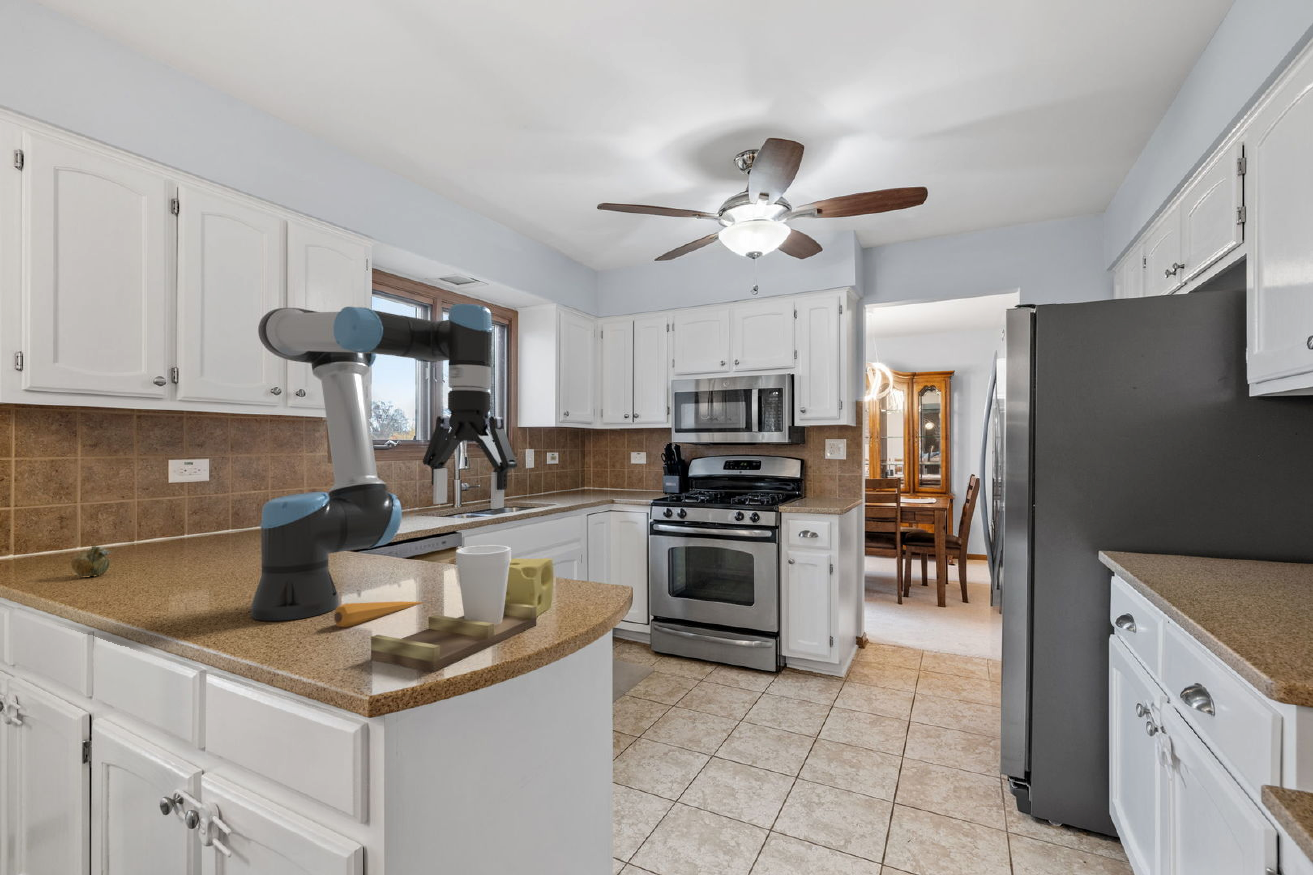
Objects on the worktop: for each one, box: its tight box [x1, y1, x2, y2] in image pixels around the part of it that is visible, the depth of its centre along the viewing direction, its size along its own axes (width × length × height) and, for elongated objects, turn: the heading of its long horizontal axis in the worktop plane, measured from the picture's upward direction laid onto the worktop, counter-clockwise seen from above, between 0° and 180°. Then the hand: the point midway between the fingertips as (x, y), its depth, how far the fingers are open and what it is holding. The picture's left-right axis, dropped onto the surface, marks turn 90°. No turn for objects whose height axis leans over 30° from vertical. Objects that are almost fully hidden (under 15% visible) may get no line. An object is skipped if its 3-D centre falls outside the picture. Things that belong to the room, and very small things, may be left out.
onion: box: [71, 545, 111, 577], centre depth 156 cm, size 8×8×8 cm
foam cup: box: [455, 544, 512, 626], centre depth 109 cm, size 10×9×13 cm
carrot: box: [333, 601, 423, 628], centre depth 119 cm, size 20×4×4 cm, turn 154°
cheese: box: [505, 557, 555, 619], centre depth 121 cm, size 10×11×10 cm
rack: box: [370, 602, 537, 673], centre depth 103 cm, size 13×25×4 cm, turn 155°
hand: (468, 505), depth 112 cm, fingers open, 13 cm apart
